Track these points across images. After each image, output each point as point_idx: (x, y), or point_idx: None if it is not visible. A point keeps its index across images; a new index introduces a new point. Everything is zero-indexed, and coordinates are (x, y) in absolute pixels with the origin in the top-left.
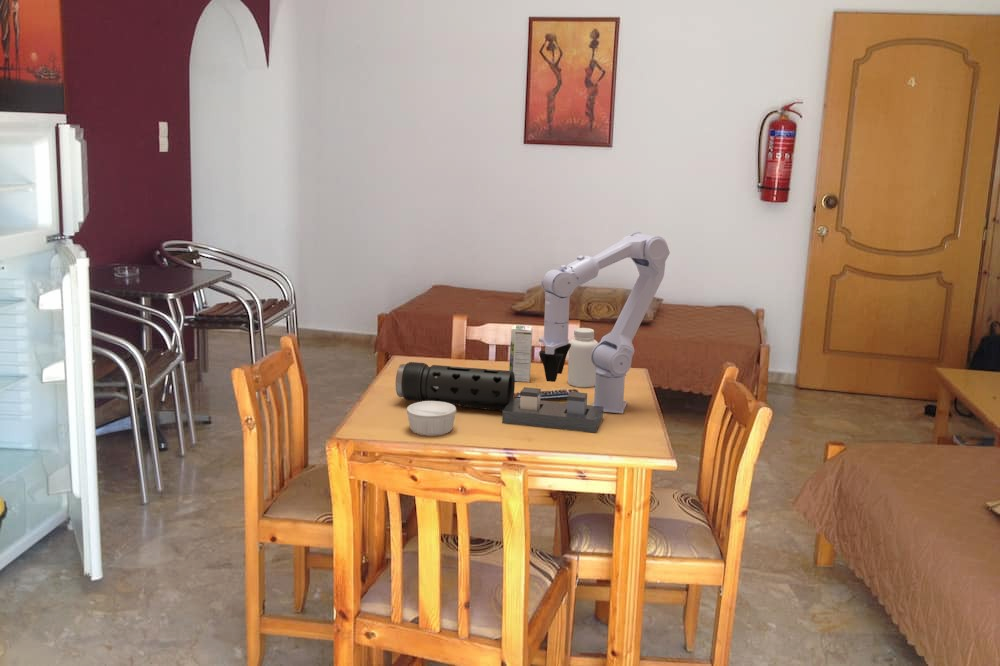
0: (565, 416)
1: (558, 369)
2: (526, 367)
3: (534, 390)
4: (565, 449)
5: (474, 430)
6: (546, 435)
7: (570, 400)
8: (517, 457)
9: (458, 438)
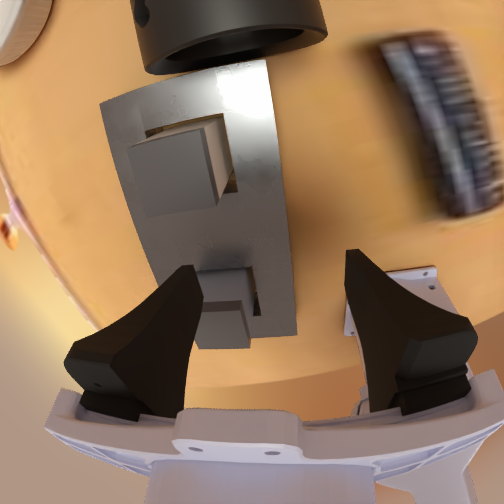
0: (161, 282)
1: (350, 286)
2: None
3: (174, 193)
4: (78, 289)
5: (47, 83)
6: (108, 239)
7: None
8: (11, 235)
9: (6, 96)
